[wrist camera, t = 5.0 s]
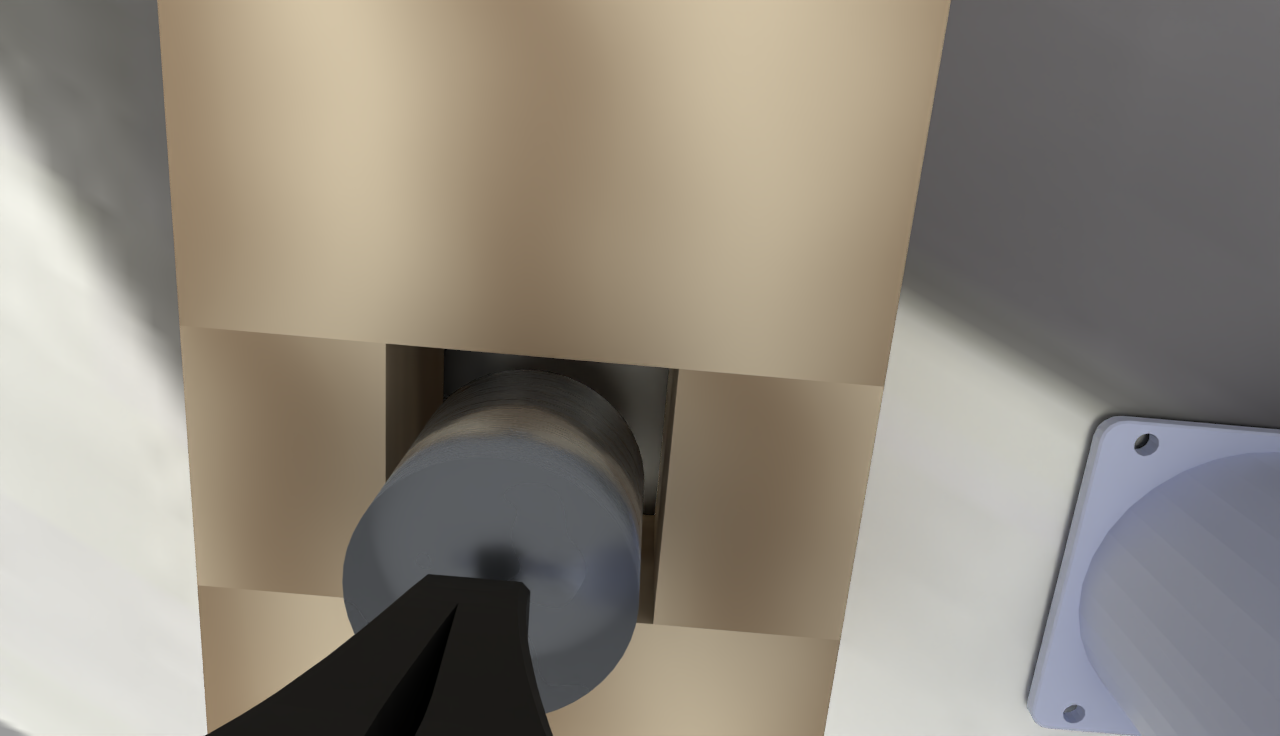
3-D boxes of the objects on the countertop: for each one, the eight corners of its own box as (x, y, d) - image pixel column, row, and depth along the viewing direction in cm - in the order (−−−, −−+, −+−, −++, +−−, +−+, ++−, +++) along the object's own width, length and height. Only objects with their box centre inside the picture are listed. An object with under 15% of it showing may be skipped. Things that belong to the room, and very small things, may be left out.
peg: (654, 380, 16) (651, 472, 12) (634, 589, 17) (626, 731, 13) (416, 359, 16) (340, 444, 12) (413, 570, 17) (344, 707, 13)
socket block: (972, -577, 15) (1096, -839, 11) (784, 656, 22) (813, 793, 18) (254, -643, 15) (94, -932, 11) (295, 615, 22) (208, 741, 18)
